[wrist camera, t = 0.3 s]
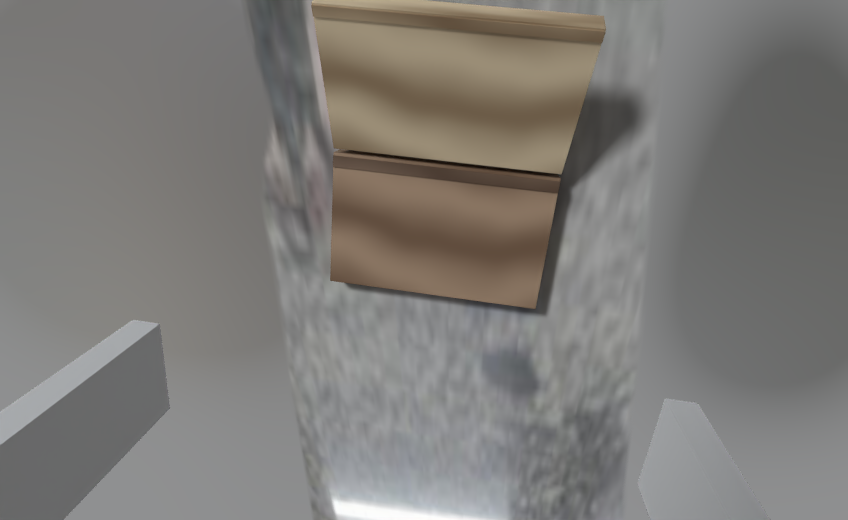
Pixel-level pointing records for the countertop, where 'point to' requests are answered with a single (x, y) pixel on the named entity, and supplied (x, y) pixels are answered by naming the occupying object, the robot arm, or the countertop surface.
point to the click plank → (456, 79)
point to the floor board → (441, 227)
